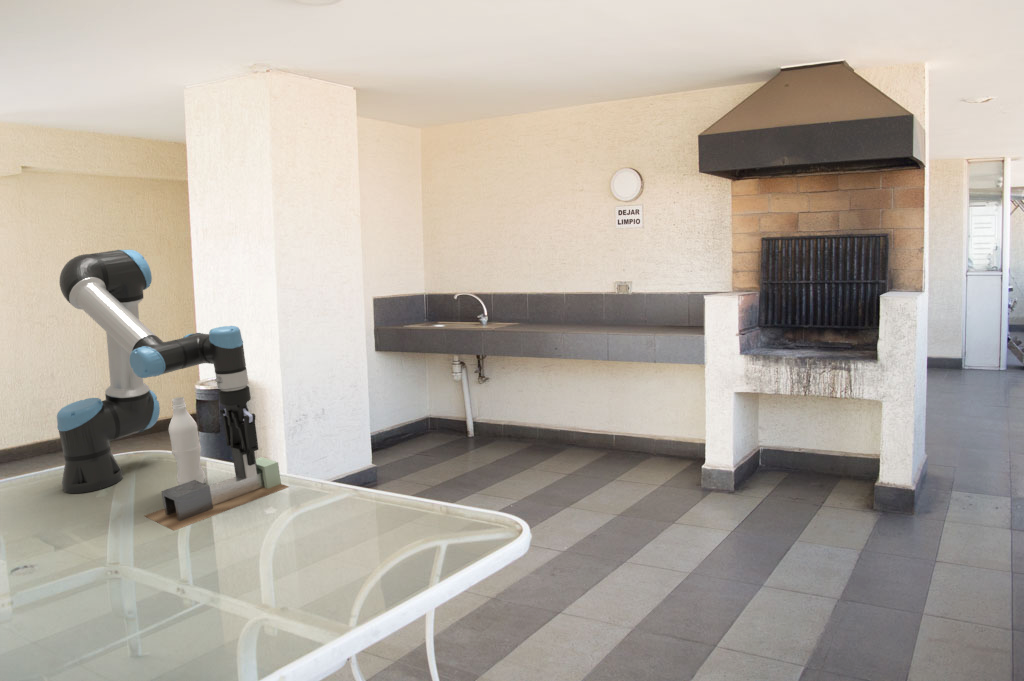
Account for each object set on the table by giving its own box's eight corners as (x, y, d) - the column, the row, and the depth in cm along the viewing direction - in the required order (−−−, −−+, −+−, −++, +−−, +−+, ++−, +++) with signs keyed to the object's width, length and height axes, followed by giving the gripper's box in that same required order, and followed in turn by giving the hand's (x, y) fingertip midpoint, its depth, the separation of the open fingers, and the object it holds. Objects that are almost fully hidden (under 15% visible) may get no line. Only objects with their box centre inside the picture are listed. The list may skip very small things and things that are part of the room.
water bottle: (198, 481, 221) (183, 393, 216) (212, 486, 217) (197, 396, 212) (173, 490, 216) (158, 400, 211) (187, 495, 211) (172, 403, 207)
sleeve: (165, 514, 197) (161, 491, 195) (198, 502, 203) (194, 479, 202) (179, 521, 191) (175, 497, 190) (213, 508, 198) (209, 485, 196)
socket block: (251, 483, 214) (248, 461, 212) (264, 478, 216) (261, 457, 215) (267, 488, 208) (264, 466, 207) (281, 483, 211) (278, 462, 210)
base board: (144, 519, 197) (143, 515, 197) (257, 478, 219) (256, 475, 219) (174, 534, 186) (173, 530, 186) (290, 490, 209) (289, 486, 208)
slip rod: (192, 507, 200) (184, 461, 197) (267, 479, 215) (260, 437, 212) (199, 510, 197) (192, 464, 195) (275, 482, 212) (268, 439, 210)
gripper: (203, 387, 206) (216, 473, 211) (237, 394, 195) (251, 485, 200) (229, 380, 212) (242, 464, 216) (264, 387, 200) (277, 476, 205)
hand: (246, 474), depth 208 cm, fingers closed on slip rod, 4 cm apart
